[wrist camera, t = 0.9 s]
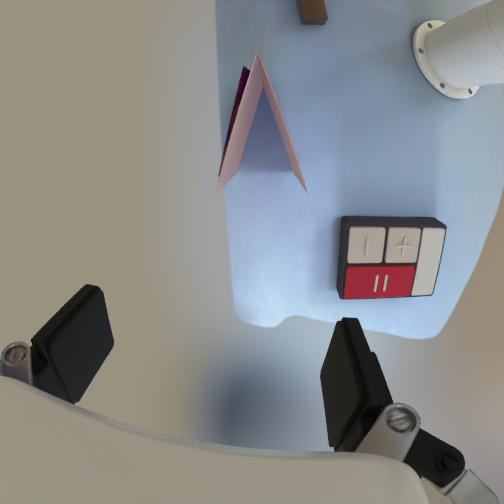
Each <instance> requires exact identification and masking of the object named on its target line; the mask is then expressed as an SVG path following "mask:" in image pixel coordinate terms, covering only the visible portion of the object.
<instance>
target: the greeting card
mask: <svg viewBox="0 0 504 504" xmlns="http://www.w3.org/2000/svg"><path fill="white" fill-rule="evenodd" d="M263 88H264V90H265V93H266V96H267V98H268V101H269V104H270V107H271V109H272V112H273V115H274V118H275V120H276V123H277V126H278V129H279V132H280V135H281V138H282V141H283V144H284V147H285V150H286V153H287V156H288V159H289V162H290V165H291V168H292V171H293V173H294V174H295V176H296V177H297V179H298V180H299V182H300V183H301V185H302V186H303V188H304V189H305V191H306V192H307V189H306V186H305V182H304V179H303V176H302V172H301V169H300V166H299V163H298V160H297V157H296V154H295V150H294V147H293V144H292V141H291V138H290V135H289V133H288V130H287V127H286V124H285V121H284V118H283V115H282V112H281V110H280V107H279V104H278V101H277V99H276V96H275V93H274V91H273V88H272V85H271V83H270V80H269V78H268V75H267V72H266V70H265V67H264V65H263V62H262V60H261V57H260V55H259V53H258V51H257V53H256V56H255V59H254V62H253V65H252V68H251V71H250V70H249V69H247V68H246V67H244V66H243V69H242V73H241V77H240V81H239V85H238V90H237V94H236V98H235V102H234V106H233V111H232V115H231V119H230V124H229V128H228V133H227V137H226V142H225V147H224V151H223V156H222V161H221V166H220V171H219V180H218V184H217V188H216V192H215V194H216V193H217V192H218V191H219V190H220V189H221V188H222V187H223V186H224V185H225V184H226V183H227V182H228V181H229V180H230V179H231V178H232V177H233V176H234V175H235V174H236V173H237V172H238V170H239V166H240V163H241V159H242V156H243V152H244V149H245V145H246V142H247V139H248V135H249V132H250V129H251V125H252V122H253V119H254V115H255V112H256V109H257V106H258V102H259V99H260V96H261V93H262V90H263ZM307 194H308V192H307Z"/></svg>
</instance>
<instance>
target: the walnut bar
mask: <svg viewBox="0 0 504 504" xmlns="http://www.w3.org/2000/svg"><path fill="white" fill-rule="evenodd" d="M297 4H298V8H299V13H300V18H301V23H302V25H306V24H319V25H324V24H325V23H326V21H327V19H328V17H327V12H326V8H325V4H324V0H297Z"/></svg>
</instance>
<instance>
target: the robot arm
mask: <svg viewBox="0 0 504 504" xmlns="http://www.w3.org/2000/svg"><path fill="white" fill-rule="evenodd" d="M413 51H414V55H415V58H416V61H417V63H418V66H419V68H420V70H421V71H422V73H423V74H424V76H425V77H426V78H427V80H428V81H429V82H430V83H431V84H432V85H433V86H434V87H435V88H436V89H437V90H438V91H440V92H441V93H442V94H444V95H446V96H448V97H451V98H454V99H466V98H469V97H472V96H473V95H474V94H475V93H476V92H477V91H478V89H479V87H480V86H484V85H492V84H502V83H504V0H493V1H491V2H488V3H486V4H483V5H481V6H479V7H477V8H475V9H473V10H471V11H468V12H466V13H464V14H462V15H460V16H458V17H456V18H454V19H452V20H451V21H449V22H447V23H445V22H443V21H438V20H429V21H426V22H424V23H422V24H421V25H419V26H418V27H417V29H416V30H415V32H414V35H413ZM31 342H32V346H31V347H30V346H29V345H28V344H26V343H25V342H21V341H20V342H14V343H11V344H10V345H8V346H7V347H6V348H5V349H4V350H3V352H2V354H1V360H0V504H498V503H499V502H498V498H497V496H496V494H495V493H494V492H493V491H492V490H491V489H490V488H489V487H488V486H487V485H486V484H485V483H484V482H483V481H482V480H481V479H480V478H479V477H478V476H477V475H476V474H475V473H474V472H473V471H472V470H471V469H469V470H465V468H464V467H465V460H464V457H463V455H462V453H461V452H460V451H459V450H458V449H456V448H455V447H453V446H451V445H449V444H447V443H445V442H444V441H442V440H440V439H438V438H436V437H435V436H433V435H431V434H429V433H428V432H426V431H424V430H422V429H421V428H420V424H421V422H420V417H419V415H418V413H417V412H416V410H415V409H414V408H412V407H411V406H409V405H406V404H404V403H393V400H392V397H391V394H390V391H389V389H388V386H387V383H386V380H385V377H384V375H383V372H382V369H381V367H380V364H379V361H378V359H377V356H376V354H375V353H374V352H371V351H370V349H369V346H368V343H367V340H366V338H365V335H364V333H363V330H362V327H361V325H360V322H359V320H358V319H357V318H346V317H343V318H342V320H341V321H337V323H336V326H335V330H334V332H333V336H332V339H331V342H330V345H329V348H328V351H327V354H326V357H325V360H324V363H323V366H322V369H321V374H320V379H321V386H322V393H323V400H324V408H325V416H326V424H327V432H328V441H329V446H330V447H334V452H311V451H310V452H309V451H307V452H306V451H282V450H266V449H254V448H244V447H235V446H227V445H220V444H214V443H207V442H202V441H196V440H191V439H186V438H181V437H176V436H172V435H167V434H163V433H159V432H155V431H151V430H148V429H144V428H140V427H137V426H133V425H130V424H127V423H124V422H120V421H117V420H114V419H111V418H108V417H105V416H103V415H100V414H97V413H94V412H92V411H89V410H86V409H84V408H81V407H79V406H76V405H74V404H75V403H76V402H79V401H80V399H81V398H82V396H83V394H84V393H85V391H86V389H87V388H88V386H89V384H90V383H91V381H92V380H93V378H94V376H95V375H96V373H97V372H98V370H99V368H100V367H101V365H102V364H103V362H104V360H105V359H106V357H107V356H108V354H109V353H110V351H111V350H112V348H113V345H114V339H113V335H112V331H111V327H110V323H109V318H108V313H107V308H106V303H105V298H104V294H103V291H101V289H100V288H99V287H98V286H94V285H89V284H86V285H85V286H83V287H82V288H81V289H80V290H79V291H78V292H77V293H76V294H75V295H74V296H73V297H72V298H71V299H70V300H69V301H68V302H67V303H66V304H65V305H64V306H63V307H62V308H61V309H60V310H59V311H58V312H57V313H56V314H55V315H54V316H53V317H52V318H51V319H50V320H49V321H48V322H47V323H46V324H45V325H44V326H43V327H42V328H41V329H40V330H39V331H38V332H37V333H36V335H35V336H34V337H33V338H32V339H31Z"/></svg>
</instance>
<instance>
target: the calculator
mask: <svg viewBox="0 0 504 504" xmlns="http://www.w3.org/2000/svg"><path fill="white" fill-rule="evenodd" d="M446 228H447V227H446V225H445V224H443V223H442V222H440V221H439V220H437V219H436V218H429V217H413V218H400V217H362V216H344V217H342V219H341V236H340V252H339V265H338V277H337V291H338V294H339V298H340V299H377V298H401V297H419V296H431V295H432V294H433V292H434V288H435V284H436V280H437V276H438V271H439V267H440V262H441V257H442V252H443V247H444V241H445V235H446Z"/></svg>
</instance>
